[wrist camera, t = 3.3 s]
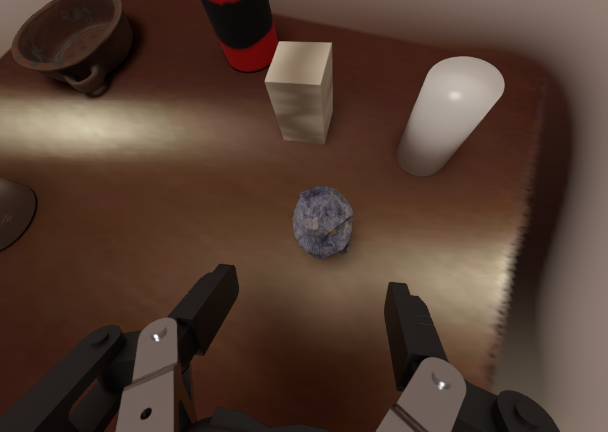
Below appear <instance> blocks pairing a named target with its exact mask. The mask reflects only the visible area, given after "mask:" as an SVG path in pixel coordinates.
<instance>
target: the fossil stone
mask: <svg viewBox="0 0 608 432" xmlns="http://www.w3.org/2000/svg"><path fill="white" fill-rule="evenodd" d="M299 196H300V197H299V198H298V199H299V200H298V203H297V205H296V208H295V211H294V217H293V229H294V234H295V238H296V239H297V241H298V243H299V245H300V246H302V247H303V248H304V249H305V251H306V252H308V254H311V255H313V257H316V258H318V259H324V258H326V257H328V256H331V255H332V254H336V253H338V252H339V251H340V252H341V253H342V254H345V253H347V251H348V249H349V246H350V244H351V240H352V239H349V238H350V235H351V232H352V222H353V219H354V218H353V211H352V209H351V207H350V204H349V203H348V202H347V200H346V199H345V197H344V196H343V195H341V194H340V193H339V192H338V191H337V190H336V189H333V188H331V187H326V186H319V187H316V188H312V189H308V190H306V191H304V192H302V193H300V195H299Z"/></svg>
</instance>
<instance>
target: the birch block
mask: <svg viewBox="0 0 608 432" xmlns="http://www.w3.org/2000/svg"><path fill="white" fill-rule="evenodd" d="M265 84H266V87H267V90H268V93H269V96H270V99H271V103H272V106H273V109H274V112H275V115H276V118H277V121H278V124H279V127H280V130H281V133H282V136H283V139H284V140H290V141H298V142H307V143H316V144H325V141H326V137H327V133H328V129H329V125H330V120H331V116H332V112H333V86H332V43H319V42H280V41H279V44H278V46H277V49H276V52H275V54H274V57H273V60H272V63H271V65H270V68H269V71H268V73H267V76H266V79H265Z"/></svg>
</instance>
